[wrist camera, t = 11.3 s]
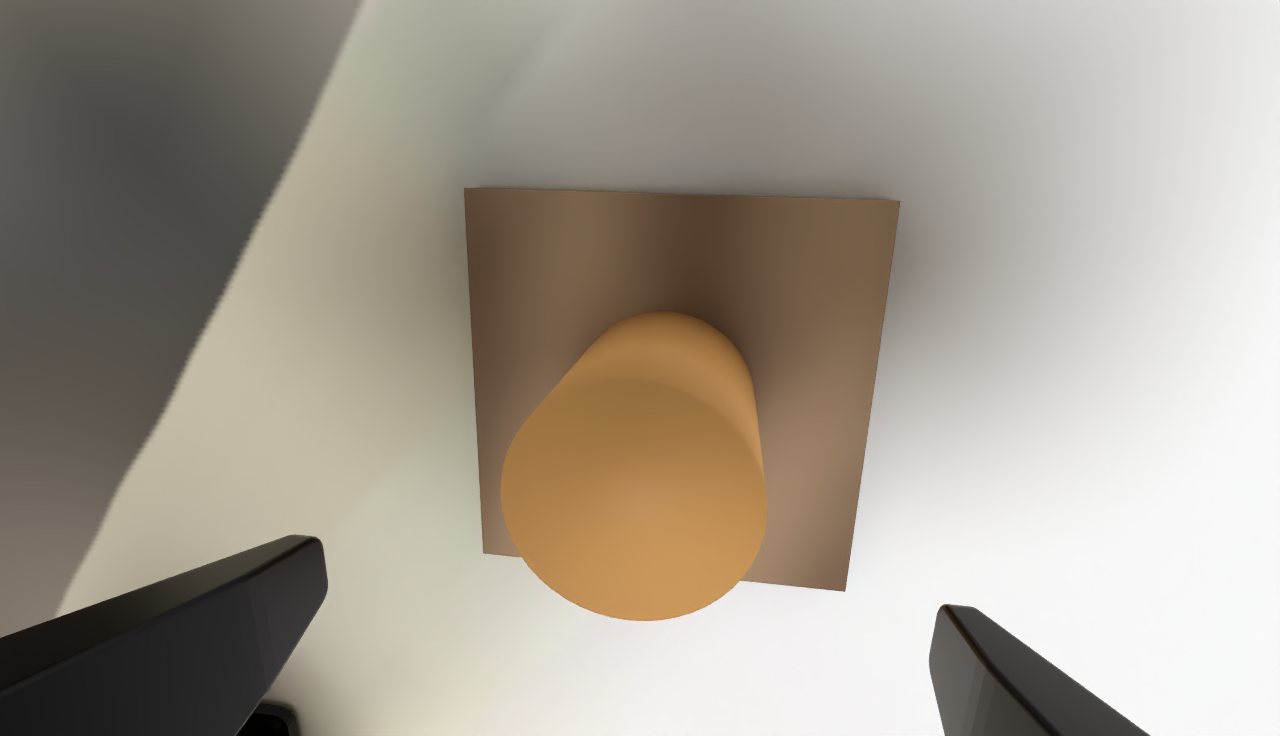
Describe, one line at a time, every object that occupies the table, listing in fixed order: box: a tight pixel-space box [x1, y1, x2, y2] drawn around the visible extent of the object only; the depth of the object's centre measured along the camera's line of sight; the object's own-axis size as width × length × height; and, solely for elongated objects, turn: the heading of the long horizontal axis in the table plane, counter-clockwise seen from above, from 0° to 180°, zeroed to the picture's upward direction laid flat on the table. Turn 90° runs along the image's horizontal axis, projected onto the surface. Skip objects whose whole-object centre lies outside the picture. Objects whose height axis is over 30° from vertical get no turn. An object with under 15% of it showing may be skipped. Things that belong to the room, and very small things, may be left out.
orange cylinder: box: [500, 311, 767, 621], centre depth 14 cm, size 5×5×6 cm
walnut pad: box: [464, 188, 900, 592], centre depth 18 cm, size 11×11×1 cm
